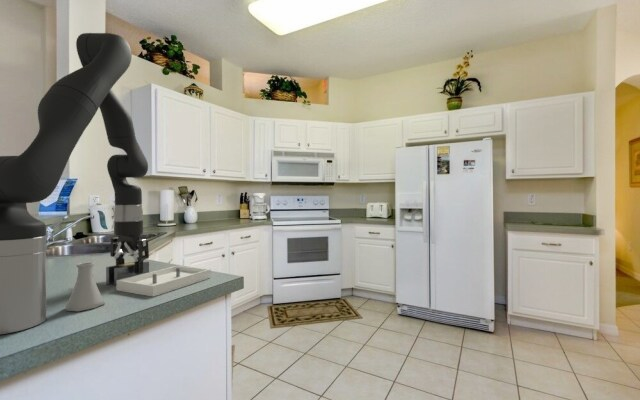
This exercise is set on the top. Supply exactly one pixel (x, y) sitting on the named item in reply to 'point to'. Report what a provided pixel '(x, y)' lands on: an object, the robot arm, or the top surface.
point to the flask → (85, 290)
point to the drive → (123, 271)
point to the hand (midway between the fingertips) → (129, 272)
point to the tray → (162, 280)
